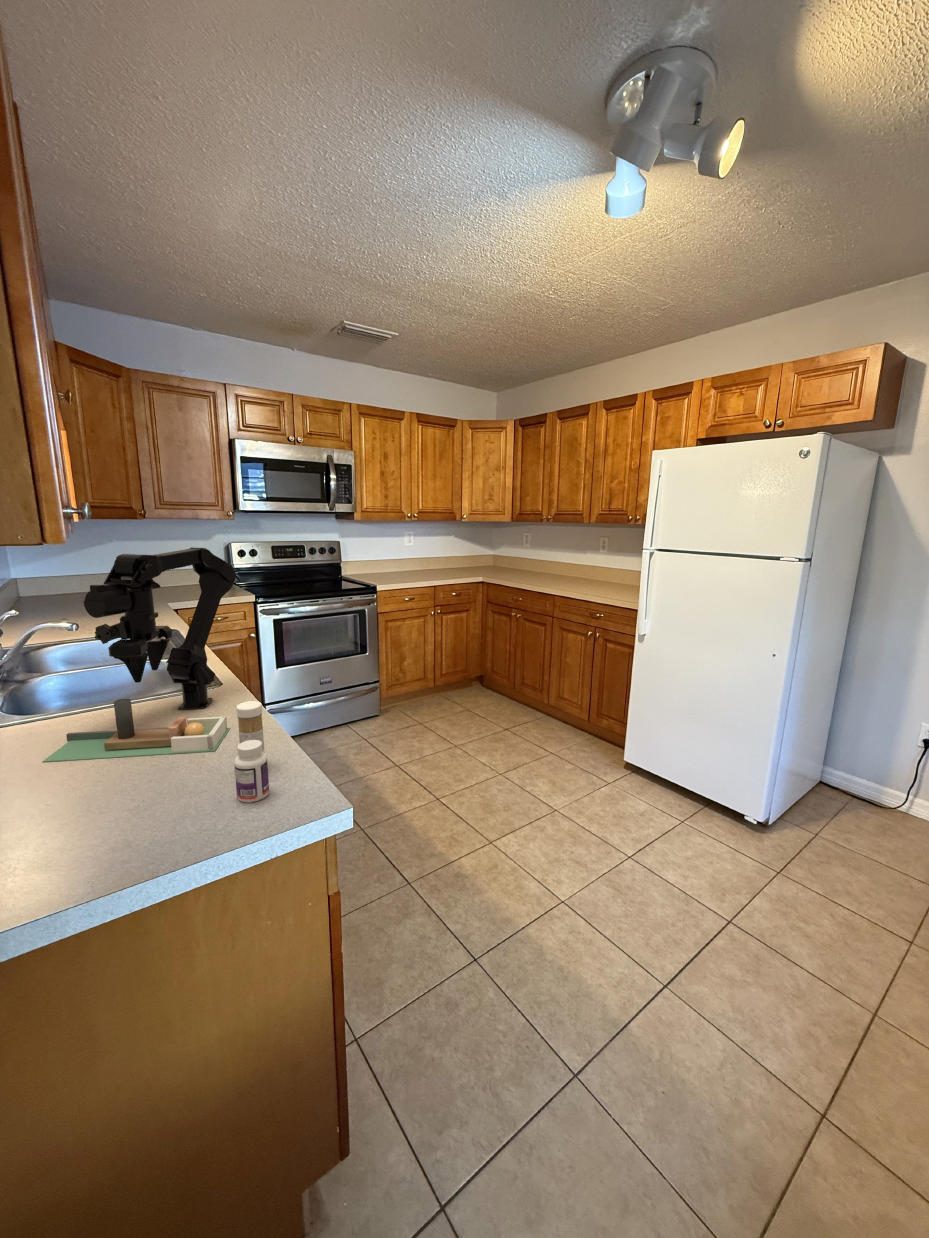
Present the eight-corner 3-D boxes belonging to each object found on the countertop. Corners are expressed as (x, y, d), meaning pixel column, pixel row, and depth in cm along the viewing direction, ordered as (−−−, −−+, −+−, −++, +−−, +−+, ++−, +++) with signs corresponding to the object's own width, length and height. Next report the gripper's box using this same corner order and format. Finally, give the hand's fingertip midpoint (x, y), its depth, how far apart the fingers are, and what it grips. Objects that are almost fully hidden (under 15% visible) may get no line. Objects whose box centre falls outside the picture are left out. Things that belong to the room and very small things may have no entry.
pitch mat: (76, 736, 111) (75, 736, 111) (230, 728, 117) (229, 727, 117) (42, 762, 99) (42, 761, 99) (215, 751, 105) (215, 750, 105)
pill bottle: (259, 783, 93) (256, 735, 91) (275, 794, 90) (272, 743, 88) (231, 795, 89) (227, 745, 87) (246, 807, 86) (242, 754, 84)
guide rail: (69, 739, 109) (68, 732, 109) (185, 732, 114) (185, 726, 113) (67, 740, 108) (66, 734, 108) (184, 734, 113) (184, 727, 113)
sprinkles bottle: (261, 761, 102) (257, 698, 99) (269, 769, 98) (265, 705, 96) (237, 767, 99) (233, 703, 96) (244, 776, 95) (240, 710, 93)
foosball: (211, 726, 112) (199, 739, 112) (195, 716, 111) (183, 729, 111) (205, 733, 108) (193, 747, 108) (189, 723, 107) (177, 737, 107)
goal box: (189, 730, 115) (188, 718, 114) (227, 728, 116) (226, 716, 116) (171, 752, 104) (170, 738, 104) (213, 749, 106) (212, 736, 105)
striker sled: (118, 737, 110) (113, 696, 108) (187, 733, 112) (183, 693, 111) (104, 749, 104) (99, 706, 102) (177, 745, 107) (173, 703, 105)
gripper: (119, 603, 120) (126, 665, 123) (76, 618, 102) (85, 691, 105) (170, 603, 122) (175, 664, 125) (136, 617, 104) (144, 688, 107)
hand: (146, 676), depth 116 cm, fingers open, 9 cm apart
